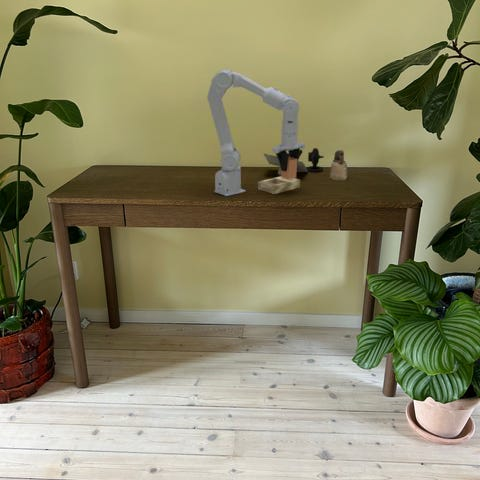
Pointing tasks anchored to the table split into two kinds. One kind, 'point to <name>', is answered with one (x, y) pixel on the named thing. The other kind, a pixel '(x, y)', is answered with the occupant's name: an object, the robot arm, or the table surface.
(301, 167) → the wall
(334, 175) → the figurine
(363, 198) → the table surface
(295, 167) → the block
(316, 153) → the webcam
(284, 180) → the beige piece
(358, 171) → the table surface
